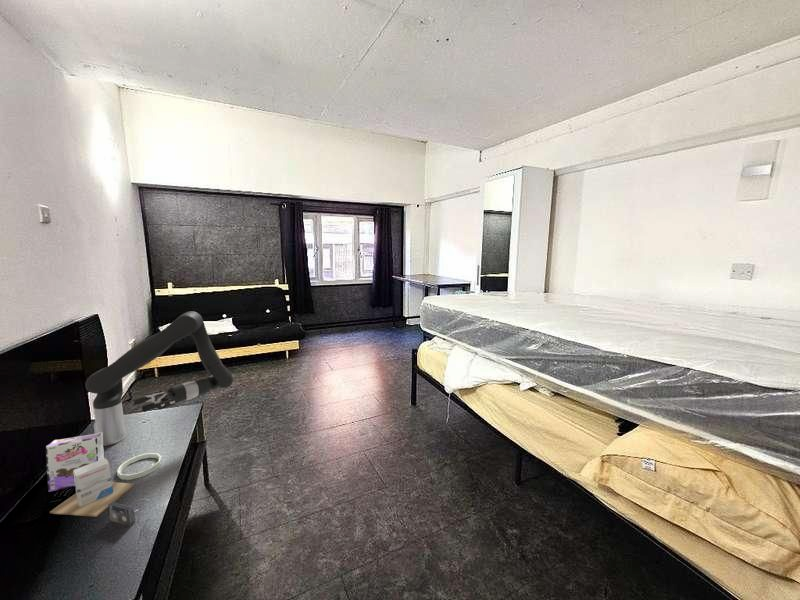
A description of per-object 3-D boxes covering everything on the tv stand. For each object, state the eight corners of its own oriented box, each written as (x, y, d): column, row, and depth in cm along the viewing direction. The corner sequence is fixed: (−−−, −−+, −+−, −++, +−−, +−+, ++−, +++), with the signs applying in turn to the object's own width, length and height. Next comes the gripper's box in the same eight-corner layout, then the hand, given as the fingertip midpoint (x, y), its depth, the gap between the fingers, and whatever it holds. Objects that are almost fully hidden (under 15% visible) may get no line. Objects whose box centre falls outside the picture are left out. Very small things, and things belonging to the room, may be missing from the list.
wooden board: (49, 513, 103) (49, 511, 102) (93, 482, 116) (93, 480, 116) (96, 516, 102) (96, 515, 102) (134, 485, 116) (134, 483, 115)
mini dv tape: (135, 522, 100) (133, 506, 99) (130, 526, 99) (128, 509, 98) (115, 517, 102) (113, 500, 101) (110, 520, 100) (108, 504, 100)
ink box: (110, 486, 114) (106, 456, 112) (113, 493, 111) (109, 462, 109) (76, 500, 107) (72, 469, 105) (79, 508, 104) (74, 476, 102)
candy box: (47, 492, 110) (44, 446, 110) (56, 483, 115) (53, 439, 115) (99, 481, 116) (96, 437, 116) (105, 473, 121) (103, 431, 121)
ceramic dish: (108, 478, 119) (108, 474, 118) (139, 456, 132) (138, 452, 131) (141, 480, 118) (141, 476, 118) (169, 457, 131) (169, 453, 131)
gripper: (176, 379, 141) (130, 391, 128) (191, 388, 133) (144, 402, 120) (177, 395, 142) (131, 409, 129) (191, 405, 134) (145, 420, 121)
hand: (137, 405), depth 124 cm, fingers open, 8 cm apart
